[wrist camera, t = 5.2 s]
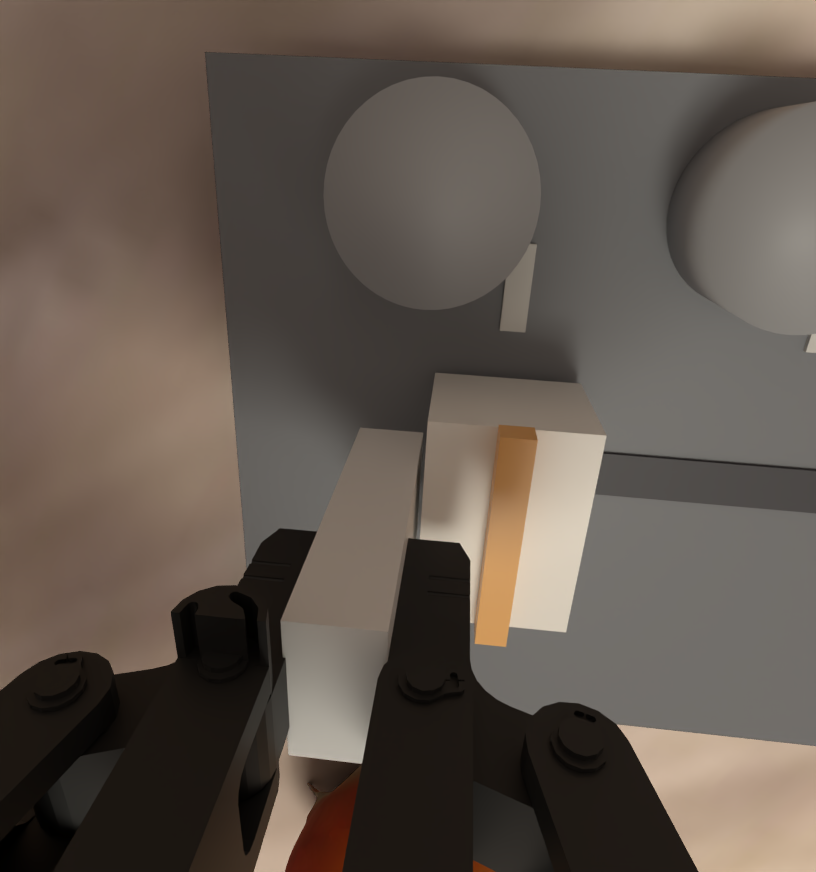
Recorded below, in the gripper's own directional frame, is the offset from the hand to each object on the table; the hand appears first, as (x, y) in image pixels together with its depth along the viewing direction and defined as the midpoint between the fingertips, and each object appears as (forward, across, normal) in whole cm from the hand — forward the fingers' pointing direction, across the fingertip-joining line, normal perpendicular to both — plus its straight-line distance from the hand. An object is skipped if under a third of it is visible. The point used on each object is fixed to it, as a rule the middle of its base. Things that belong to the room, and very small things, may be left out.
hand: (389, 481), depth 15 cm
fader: (+2, +3, 0) cm, 3 cm away
